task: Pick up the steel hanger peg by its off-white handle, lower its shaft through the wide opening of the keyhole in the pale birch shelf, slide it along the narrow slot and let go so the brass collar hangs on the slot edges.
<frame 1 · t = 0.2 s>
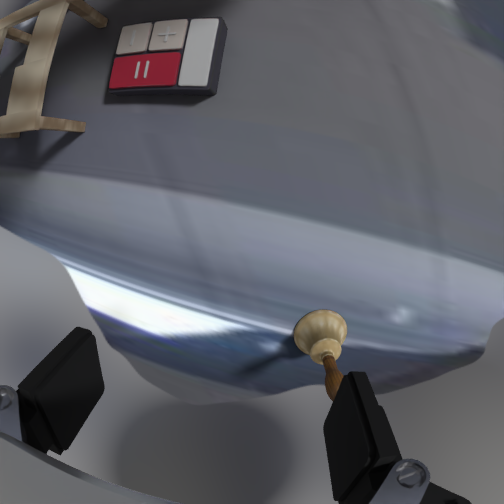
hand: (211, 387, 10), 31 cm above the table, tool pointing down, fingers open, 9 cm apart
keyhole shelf: (54, 78, 34), on the table
hand bell: (320, 332, 44), on the table
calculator: (170, 60, 34), on the table
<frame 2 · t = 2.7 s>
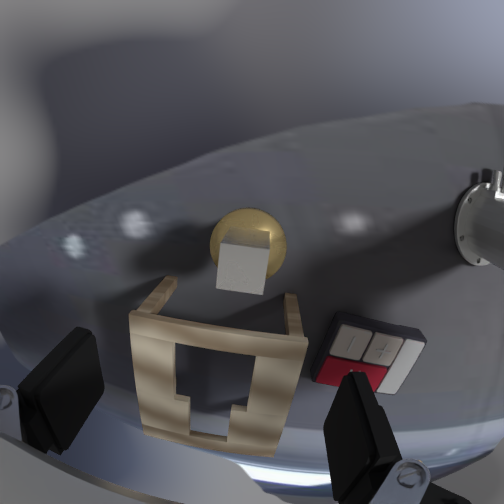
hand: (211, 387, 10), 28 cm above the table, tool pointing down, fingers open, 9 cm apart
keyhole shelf: (223, 345, 42), on the table
hanger peg: (253, 225, 37), on the table
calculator: (365, 349, 42), on the table
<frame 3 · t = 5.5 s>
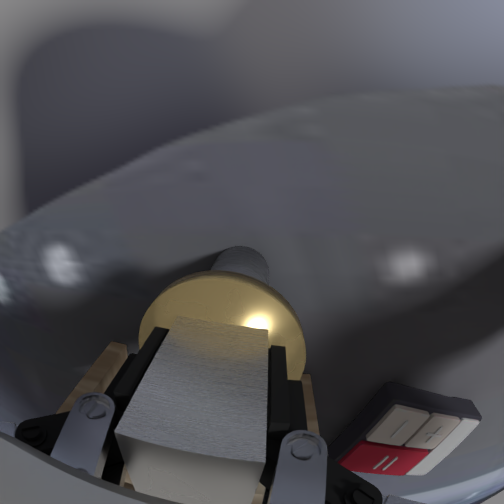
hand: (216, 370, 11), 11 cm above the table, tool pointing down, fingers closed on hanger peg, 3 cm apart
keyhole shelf: (203, 431, 26), on the table
hanger peg: (240, 273, 21), on the table, touching gripper
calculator: (404, 424, 26), on the table
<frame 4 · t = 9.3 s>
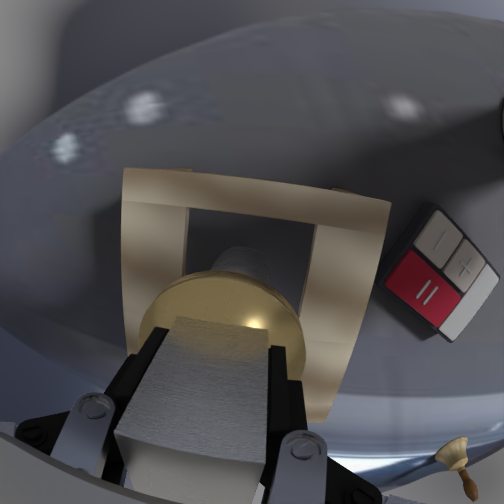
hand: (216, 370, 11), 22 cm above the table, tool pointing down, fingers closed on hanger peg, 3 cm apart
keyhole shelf: (249, 267, 33), on the table
hand bell: (450, 448, 42), on the table
hanger peg: (240, 273, 21), point 11 cm above the table, touching gripper
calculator: (435, 271, 32), on the table
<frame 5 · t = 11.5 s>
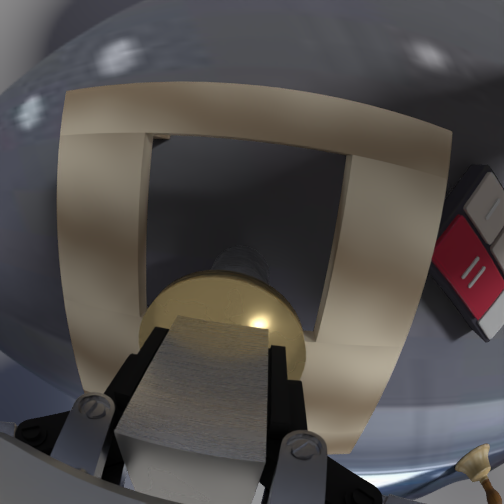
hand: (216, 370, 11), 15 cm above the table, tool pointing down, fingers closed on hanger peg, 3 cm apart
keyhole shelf: (246, 247, 25), on the table
hand bell: (471, 456, 34), on the table
hanger peg: (240, 273, 21), point 4 cm above the table, touching gripper
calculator: (475, 252, 24), on the table
when the fingers open (14 cm above the table, at t = 13.1 s): hanger peg stays where it is, resting on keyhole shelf.
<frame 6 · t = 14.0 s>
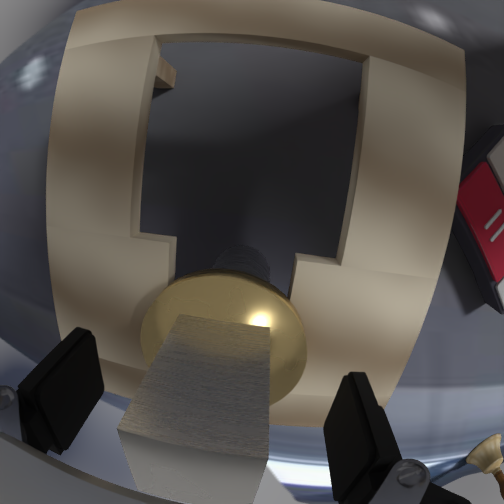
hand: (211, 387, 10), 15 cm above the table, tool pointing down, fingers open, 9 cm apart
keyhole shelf: (251, 198, 23), on the table
hand bell: (483, 447, 32), on the table
hanger peg: (241, 272, 21), point 3 cm above the table, touching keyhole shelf
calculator: (493, 216, 22), on the table
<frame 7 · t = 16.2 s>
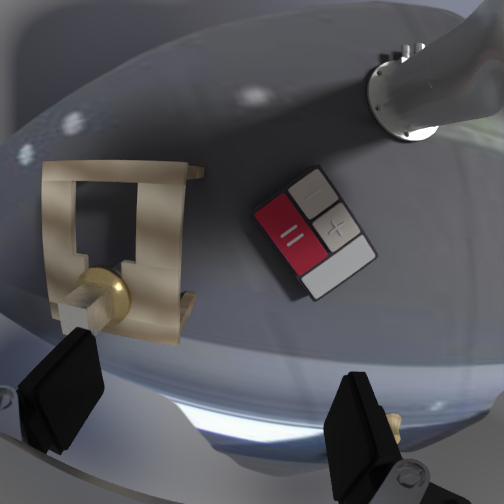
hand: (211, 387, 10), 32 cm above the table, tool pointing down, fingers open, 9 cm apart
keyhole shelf: (140, 231, 41), on the table
hand bell: (383, 425, 51), on the table
hanger peg: (133, 270, 40), point 3 cm above the table, touching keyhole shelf
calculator: (313, 230, 41), on the table
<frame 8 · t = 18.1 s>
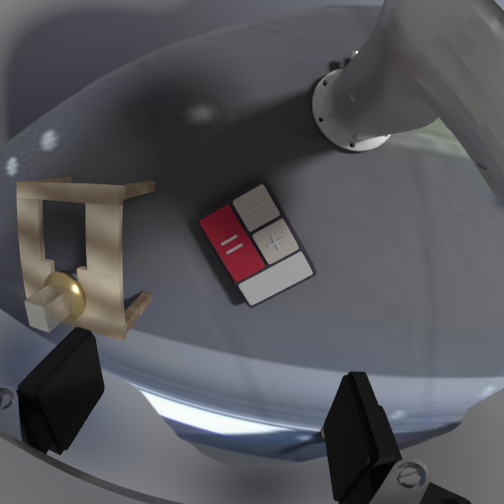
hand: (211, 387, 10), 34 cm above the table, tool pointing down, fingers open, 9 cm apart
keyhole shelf: (104, 237, 45), on the table
hanger peg: (96, 272, 43), point 3 cm above the table, touching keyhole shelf
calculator: (257, 241, 44), on the table
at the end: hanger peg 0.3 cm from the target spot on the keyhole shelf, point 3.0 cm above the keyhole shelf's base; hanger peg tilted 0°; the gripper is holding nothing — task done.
